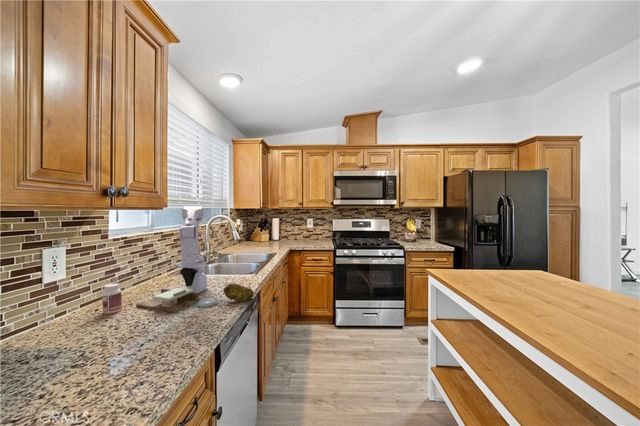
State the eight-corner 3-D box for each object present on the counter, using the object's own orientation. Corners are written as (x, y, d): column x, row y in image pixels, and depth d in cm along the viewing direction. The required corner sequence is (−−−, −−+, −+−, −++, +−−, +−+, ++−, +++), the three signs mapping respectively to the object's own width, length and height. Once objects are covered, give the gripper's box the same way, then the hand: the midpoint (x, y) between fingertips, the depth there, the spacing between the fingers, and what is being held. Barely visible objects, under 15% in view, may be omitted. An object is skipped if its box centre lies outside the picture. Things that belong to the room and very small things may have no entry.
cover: (177, 290, 123) (177, 285, 123) (193, 292, 120) (192, 287, 120) (153, 299, 111) (153, 293, 111) (169, 301, 108) (169, 296, 108)
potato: (250, 303, 117) (250, 285, 117) (221, 304, 116) (221, 286, 116) (254, 297, 125) (254, 280, 125) (227, 297, 124) (227, 281, 124)
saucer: (206, 299, 122) (206, 297, 122) (222, 301, 119) (222, 299, 119) (191, 306, 114) (191, 304, 114) (208, 308, 111) (208, 306, 111)
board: (164, 296, 127) (164, 287, 127) (199, 301, 120) (198, 292, 120) (136, 307, 113) (136, 297, 113) (173, 312, 107) (173, 302, 107)
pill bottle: (124, 307, 113) (123, 282, 113) (118, 313, 107) (117, 286, 107) (107, 309, 111) (106, 283, 111) (99, 315, 105) (99, 288, 105)
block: (170, 305, 116) (170, 296, 116) (177, 306, 114) (177, 297, 114) (162, 308, 112) (162, 299, 112) (169, 309, 111) (169, 300, 111)
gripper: (167, 254, 109) (168, 286, 109) (194, 256, 104) (195, 290, 105) (181, 252, 116) (181, 282, 116) (207, 253, 111) (208, 285, 111)
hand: (189, 285), depth 111 cm, fingers closed
